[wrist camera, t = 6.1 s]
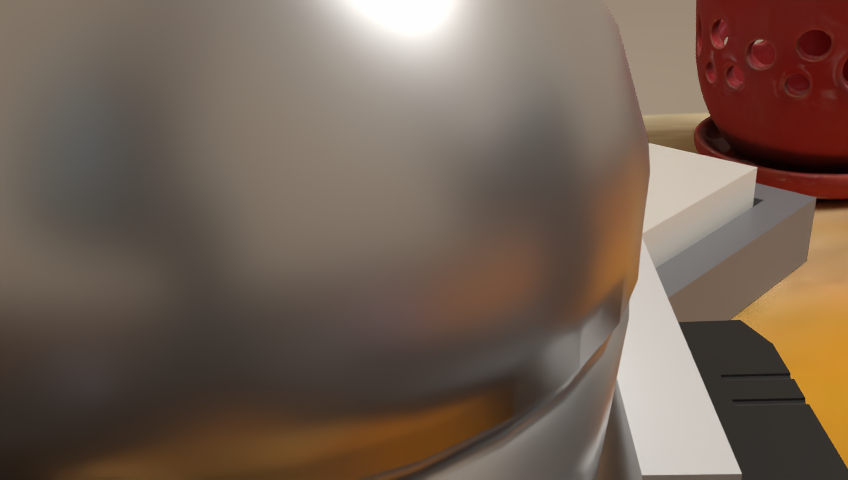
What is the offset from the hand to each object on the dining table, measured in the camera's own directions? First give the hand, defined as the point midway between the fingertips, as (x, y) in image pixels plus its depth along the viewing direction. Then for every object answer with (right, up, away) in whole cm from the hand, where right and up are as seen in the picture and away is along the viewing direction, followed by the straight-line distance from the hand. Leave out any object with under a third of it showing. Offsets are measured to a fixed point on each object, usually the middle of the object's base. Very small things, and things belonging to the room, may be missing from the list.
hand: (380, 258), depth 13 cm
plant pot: (+22, +4, +29) cm, 37 cm away
